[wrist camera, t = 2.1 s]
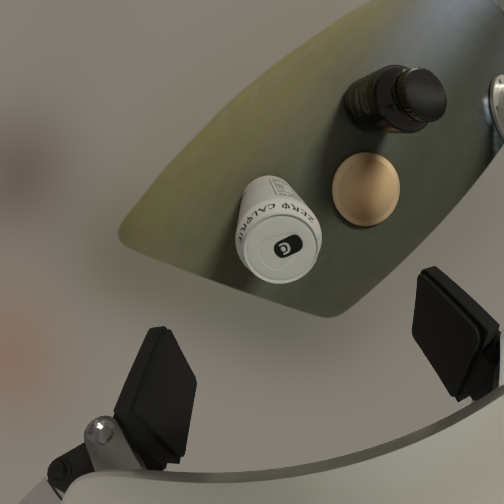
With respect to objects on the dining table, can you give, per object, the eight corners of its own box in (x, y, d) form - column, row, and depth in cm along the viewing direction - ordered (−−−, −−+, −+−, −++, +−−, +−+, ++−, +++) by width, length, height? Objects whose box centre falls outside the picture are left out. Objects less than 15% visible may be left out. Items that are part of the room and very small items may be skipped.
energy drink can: (232, 189, 31) (216, 231, 17) (280, 165, 30) (305, 186, 16) (256, 234, 33) (260, 304, 19) (302, 211, 32) (340, 267, 18)
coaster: (392, 148, 28) (395, 148, 28) (399, 217, 32) (402, 218, 31) (325, 158, 29) (327, 158, 29) (337, 231, 33) (338, 232, 32)
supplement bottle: (380, 144, 28) (440, 151, 17) (333, 114, 27) (378, 101, 16) (401, 100, 26) (462, 91, 15) (356, 69, 25) (406, 40, 14)
